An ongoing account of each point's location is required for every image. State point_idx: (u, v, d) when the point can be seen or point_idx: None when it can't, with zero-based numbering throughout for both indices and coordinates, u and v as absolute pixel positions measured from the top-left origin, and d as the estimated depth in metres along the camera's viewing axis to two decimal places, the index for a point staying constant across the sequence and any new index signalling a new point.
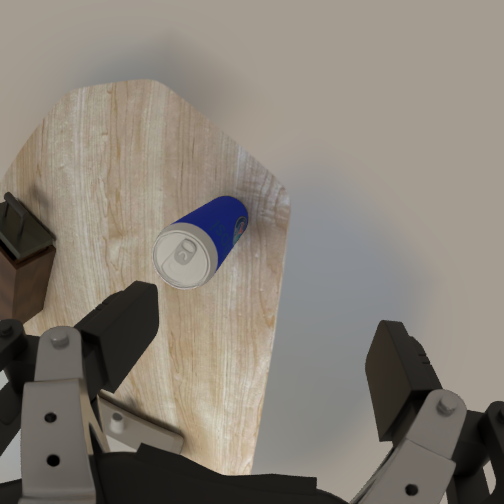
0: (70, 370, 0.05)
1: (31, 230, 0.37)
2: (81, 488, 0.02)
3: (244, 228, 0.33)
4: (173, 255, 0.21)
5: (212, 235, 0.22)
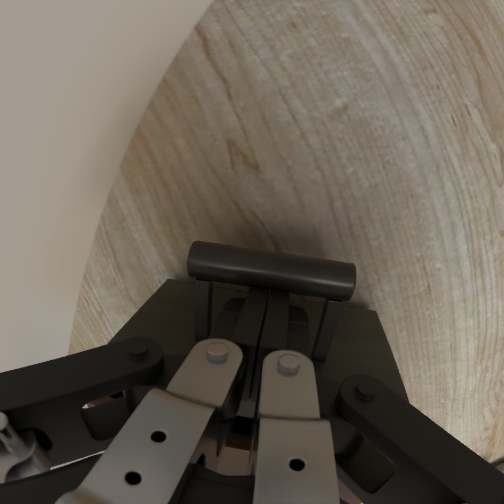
0: (212, 391, 0.05)
1: None
2: None
3: None
4: None
5: None
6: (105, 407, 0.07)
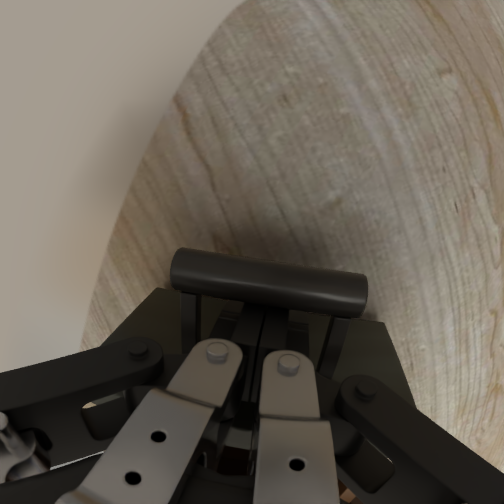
0: (212, 391, 0.05)
1: None
2: None
3: None
4: None
5: None
6: (105, 407, 0.07)
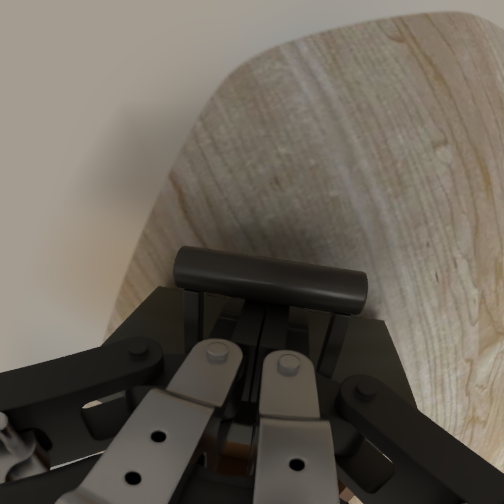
0: (212, 391, 0.05)
1: None
2: None
3: None
4: None
5: None
6: (105, 407, 0.07)
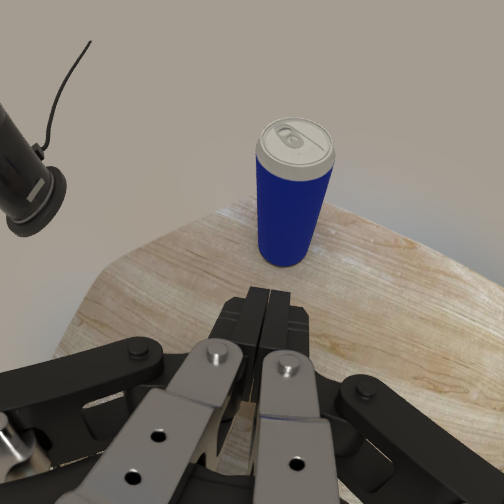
0: (212, 391, 0.05)
1: None
2: None
3: None
4: (289, 148, 0.17)
5: None
6: (105, 407, 0.07)
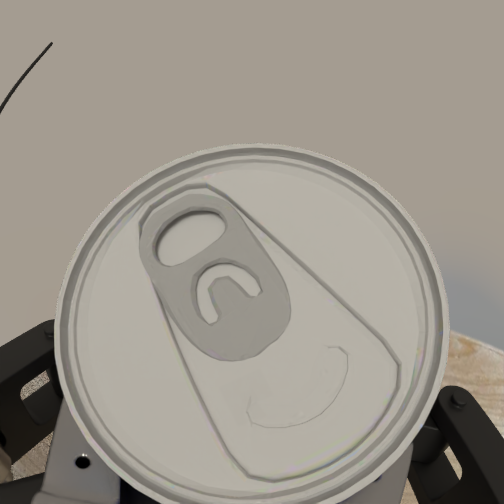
0: None
1: None
2: (105, 496, 0.02)
3: None
4: (201, 359, 0.03)
5: None
6: (36, 396, 0.06)
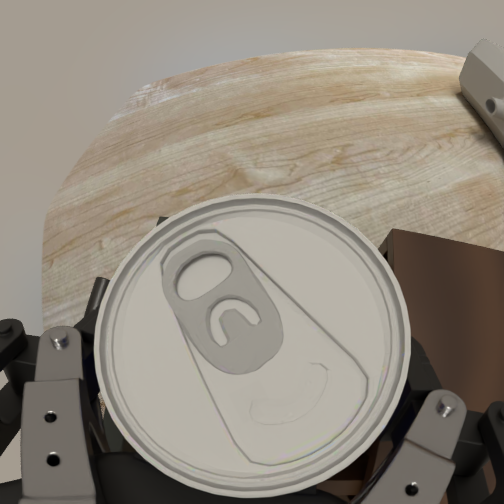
0: (70, 370, 0.05)
1: None
2: (81, 488, 0.02)
3: None
4: (214, 372, 0.04)
5: None
6: None
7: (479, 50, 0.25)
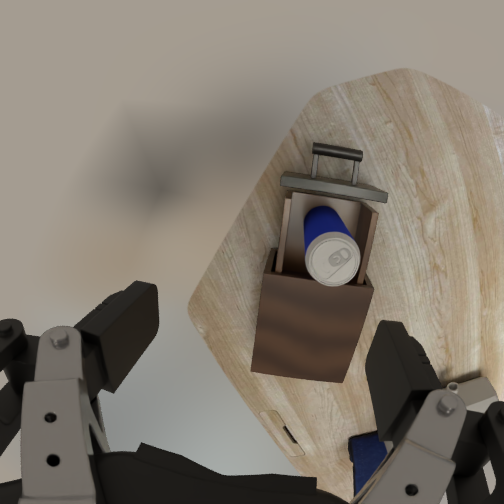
0: (70, 370, 0.05)
1: None
2: (81, 488, 0.02)
3: None
4: (328, 256, 0.26)
5: None
6: None
7: None
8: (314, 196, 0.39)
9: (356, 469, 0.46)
